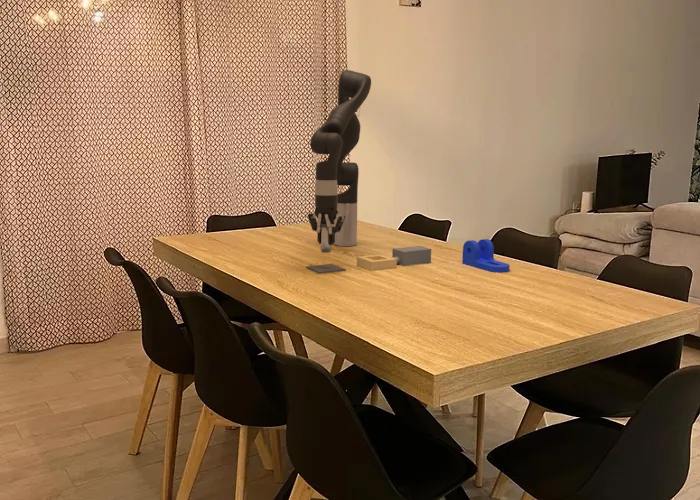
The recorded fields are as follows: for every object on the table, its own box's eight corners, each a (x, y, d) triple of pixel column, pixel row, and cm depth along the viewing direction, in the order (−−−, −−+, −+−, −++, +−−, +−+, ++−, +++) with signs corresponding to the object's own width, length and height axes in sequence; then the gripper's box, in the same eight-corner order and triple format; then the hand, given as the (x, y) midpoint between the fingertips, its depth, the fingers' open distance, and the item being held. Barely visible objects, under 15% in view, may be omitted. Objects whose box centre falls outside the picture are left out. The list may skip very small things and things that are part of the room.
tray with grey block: (371, 270, 238) (372, 256, 237) (356, 265, 246) (356, 251, 246) (433, 263, 251) (433, 249, 250) (416, 258, 260) (417, 245, 259)
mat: (305, 268, 241) (305, 266, 241) (331, 265, 246) (331, 263, 246) (319, 273, 232) (319, 272, 232) (345, 270, 237) (345, 269, 237)
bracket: (462, 264, 252) (463, 239, 250) (480, 262, 256) (481, 237, 254) (495, 273, 236) (497, 247, 235) (514, 271, 240) (515, 245, 239)
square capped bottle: (324, 250, 240) (324, 222, 238) (332, 251, 238) (333, 223, 237) (319, 252, 237) (319, 223, 235) (327, 253, 236) (327, 224, 234)
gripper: (350, 193, 234) (349, 244, 237) (314, 191, 241) (314, 240, 244) (338, 195, 228) (338, 247, 231) (302, 193, 234) (302, 243, 238)
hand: (326, 243), depth 237 cm, fingers closed on square capped bottle, 3 cm apart
